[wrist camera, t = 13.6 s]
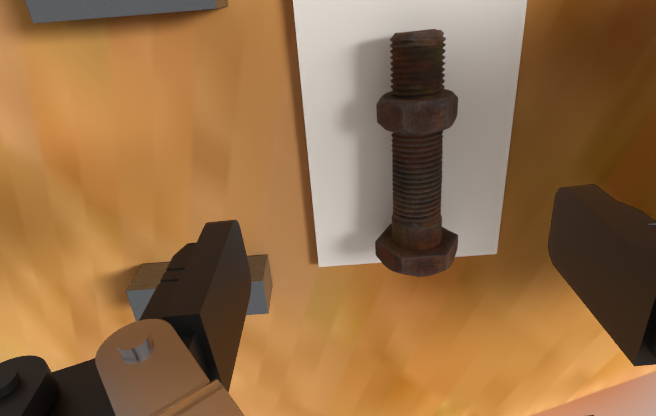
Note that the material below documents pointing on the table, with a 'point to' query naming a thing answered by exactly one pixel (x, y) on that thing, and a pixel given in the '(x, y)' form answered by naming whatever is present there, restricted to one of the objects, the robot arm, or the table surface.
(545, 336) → the table surface
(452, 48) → the board
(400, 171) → the bolt
